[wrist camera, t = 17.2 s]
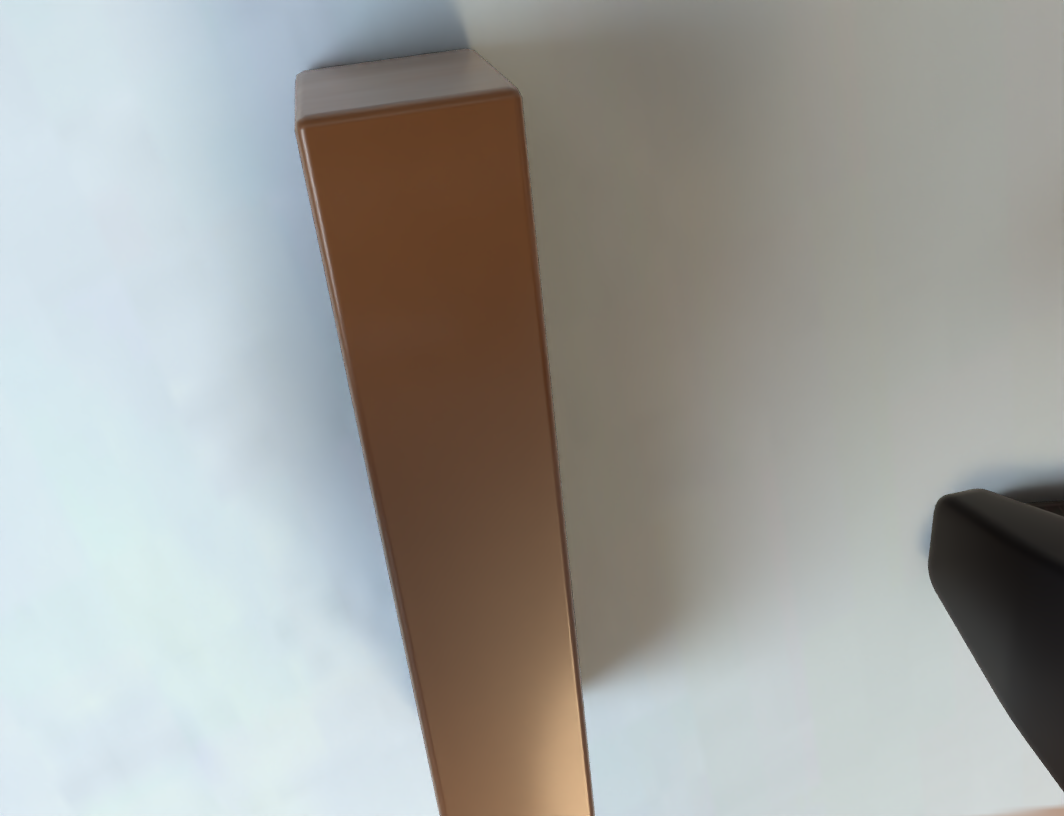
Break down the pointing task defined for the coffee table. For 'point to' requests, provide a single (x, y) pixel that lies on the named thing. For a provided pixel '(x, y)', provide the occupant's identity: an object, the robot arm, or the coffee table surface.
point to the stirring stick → (454, 413)
